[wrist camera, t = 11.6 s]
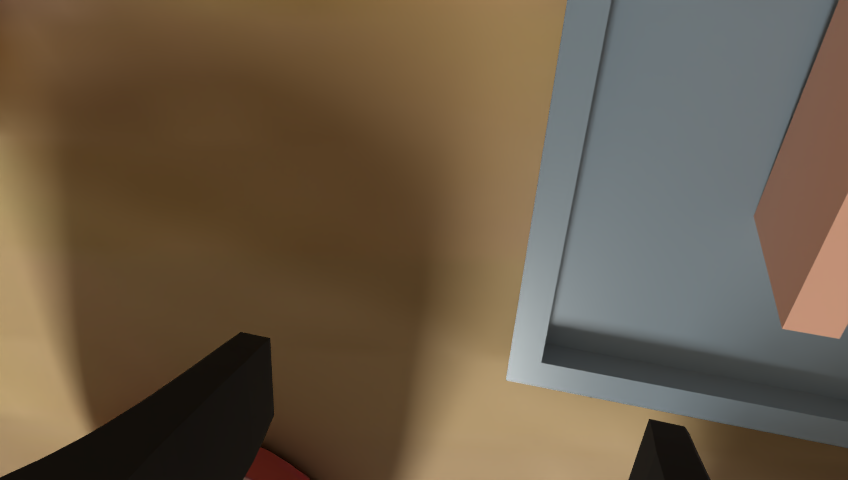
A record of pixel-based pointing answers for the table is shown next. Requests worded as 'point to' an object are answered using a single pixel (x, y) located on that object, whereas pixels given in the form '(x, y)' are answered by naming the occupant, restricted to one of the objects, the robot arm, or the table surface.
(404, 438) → the table surface
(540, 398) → the table surface
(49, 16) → the table surface
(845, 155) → the long salmon pink stick
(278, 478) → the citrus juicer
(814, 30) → the tray
